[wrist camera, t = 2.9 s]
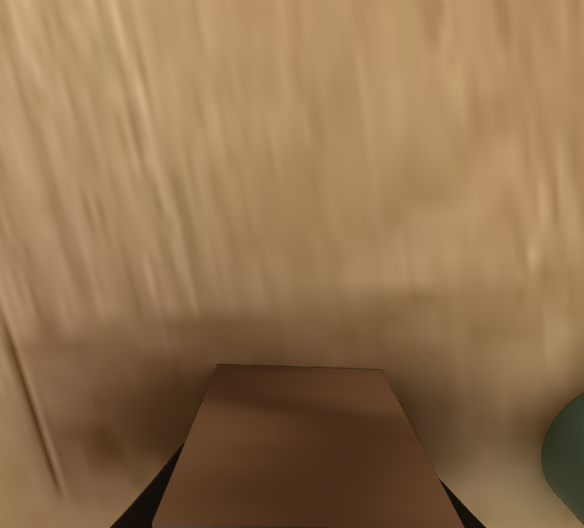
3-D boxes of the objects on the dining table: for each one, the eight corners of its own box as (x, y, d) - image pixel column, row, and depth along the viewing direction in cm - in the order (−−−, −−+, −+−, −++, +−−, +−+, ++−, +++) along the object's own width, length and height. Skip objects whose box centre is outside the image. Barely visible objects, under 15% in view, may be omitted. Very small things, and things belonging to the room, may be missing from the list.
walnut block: (218, 501, 11) (164, 739, 6) (217, 364, 10) (152, 522, 5) (367, 505, 11) (426, 742, 6) (381, 369, 10) (466, 530, 5)
